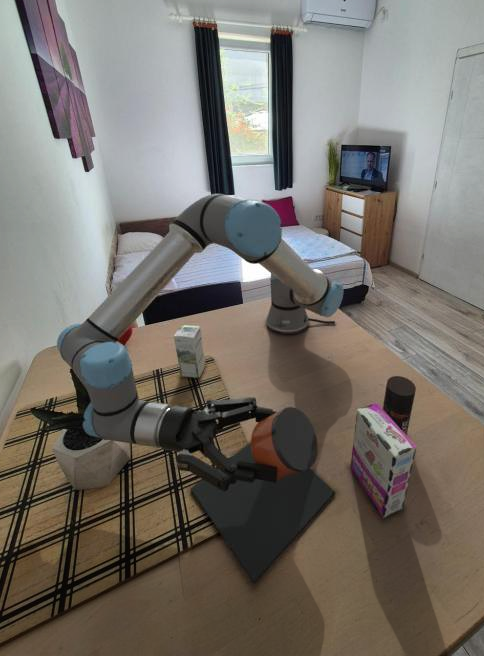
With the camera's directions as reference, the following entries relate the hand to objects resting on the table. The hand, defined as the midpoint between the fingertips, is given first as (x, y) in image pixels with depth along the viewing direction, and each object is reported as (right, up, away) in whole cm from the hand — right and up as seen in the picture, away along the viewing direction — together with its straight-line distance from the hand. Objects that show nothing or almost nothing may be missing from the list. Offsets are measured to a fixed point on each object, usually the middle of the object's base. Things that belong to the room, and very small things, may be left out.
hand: (283, 445), depth 57 cm
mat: (-4, -13, +6) cm, 15 cm away
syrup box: (-27, +1, +38) cm, 47 cm away
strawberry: (-54, +7, +50) cm, 74 cm away
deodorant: (+25, -8, +18) cm, 32 cm away
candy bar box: (+18, -12, +7) cm, 23 cm away
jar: (0, +1, -1) cm, 1 cm away
